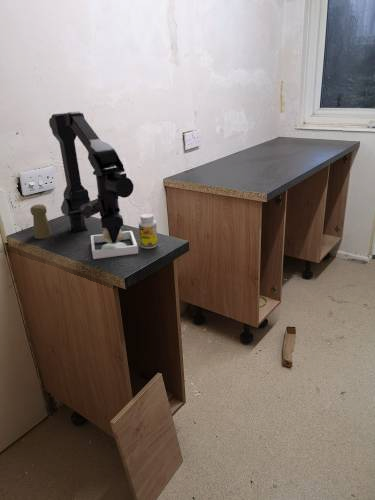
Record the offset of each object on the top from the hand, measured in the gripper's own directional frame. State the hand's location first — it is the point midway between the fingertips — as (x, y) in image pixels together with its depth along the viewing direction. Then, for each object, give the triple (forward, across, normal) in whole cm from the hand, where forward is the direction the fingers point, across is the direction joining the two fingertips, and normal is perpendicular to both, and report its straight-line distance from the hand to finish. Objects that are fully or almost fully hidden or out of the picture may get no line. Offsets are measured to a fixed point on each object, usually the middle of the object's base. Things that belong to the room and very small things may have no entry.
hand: (113, 238), depth 126 cm
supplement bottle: (+3, +2, +11) cm, 12 cm away
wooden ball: (+2, 0, 0) cm, 2 cm away
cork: (+3, -19, -23) cm, 30 cm away
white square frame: (+3, 0, 0) cm, 3 cm away
